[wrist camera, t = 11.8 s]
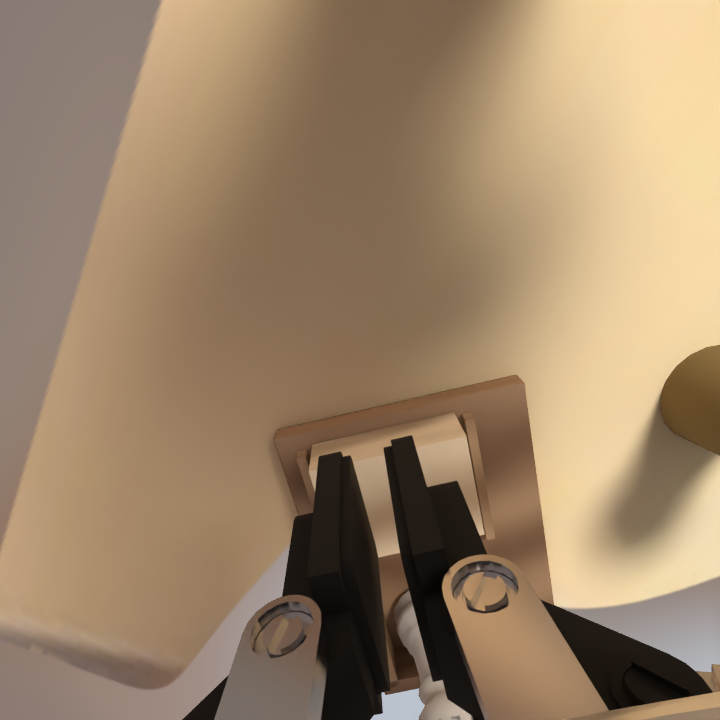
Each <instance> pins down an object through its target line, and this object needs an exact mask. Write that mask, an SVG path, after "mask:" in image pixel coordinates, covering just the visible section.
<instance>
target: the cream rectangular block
mask: <svg viewBox="0 0 720 720" xmlns="http://www.w3.org/2000/svg"><path fill="white" fill-rule="evenodd" d="M410 435H412V436H413V440H414V443H415V447H416V450H417V454H418V457H419V461H420V464H421V468H422V471H423V474H424V478H425V481H426V485H427V487H430V486H434V485H439V484H443V483H448V482H452V481H458V483H459V486H460V488H461V491H462V493H463V495H464V498H465V500H466V503H467V505H468V508H469V510H470V513H471V515H472V518H473V520H474V523H475V525H476V528H477V530H478V533H479V535H485V534H484V529H483V524H482V518H481V513H480V507H479V502H478V496H477V491H476V486H475V480H474V475H473V469H472V464H471V458H470V453H469V448H468V442H467V437H466V434H465V433H464V431H463V429H462V427H461V425H460V423H459V421H458V419H457V417H456V415H455V413H454V412H453V413H448V414H444V415H439V416H435V417H431V418H426V419H422V420H418V421H413V422H409V423H404V424H400V425H396V426H391V427H387V428H383V429H378V430H374V431H369V432H365V433H361V434H356V435H352V436H348V437H343V438H339V439H334V440H330V441H326V442H321V443H317V444H312V450H311V458H310V465H309V475H310V478H311V481H312V484H313V487H314V491H315V488H316V477H317V467H318V458H319V456H322V455H326V454H331V453H335V452H339V451H341V452H342V455H343V457H344V456H348V455H351V458H352V461H353V464H354V468H355V472H356V475H357V479H358V482H359V486H360V490H361V493H362V497H363V500H364V504H365V508H366V511H367V515H368V519H369V522H370V526H371V529H372V533H373V537H374V540H375V544H376V548H377V554H378V557H383V556H388V555H392V554H397V553H400V549H399V544H398V537H397V531H396V525H395V518H394V512H393V506H392V500H391V493H390V487H389V481H388V474H387V468H386V462H385V456H384V449H383V448H384V447H388V446H392V445H391V440H392V439H397V438H401V437H405V436H410Z"/></svg>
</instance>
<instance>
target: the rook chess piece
mask: <svg viewBox="0 0 720 720" xmlns="http://www.w3.org/2000/svg"><path fill="white" fill-rule="evenodd" d="M394 620H395V622H396V624H397V633H398V635H399V637H400V639H401V641H402V643H403V645H404V646H405V647H407V649H408V651H409V653H410V654H411V655H412V656H413V657H414V660H415V663H416V667H417V670H418V673H419V676H420V682H421V686H420V687H419V697H420V699H421V701H422V703H424V704H425V707H424V709H423V711H422V713H421V714H420V716H419V720H472V719H471V715H470V714H469V713H467V712H466V711H464V710H463V709H461V708H460V707H458V706H457V705H455V704H454V703H452V702H451V701H449V700H448V699H447V696H446V692H445V688H444V684H443V680H441V681H436V682H433V681H432V677H431V673H430V669H429V665H428V661H427V658H426V654H425V650H424V646H423V642H422V638H421V634H420V631H419V627H418V623H417V619H416V615H415V611H414V607H413V603H412V600H411V596H410V592H409V590H408V591H407V592H406V593H404V594H403V595H402V597H401V598H400V599H399V601H398V603H397V605H396V606H395V608H394Z"/></svg>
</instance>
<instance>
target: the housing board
mask: <svg viewBox="0 0 720 720" xmlns="http://www.w3.org/2000/svg"><path fill="white" fill-rule="evenodd" d="M453 412H454V413H455V415H456V417H457V419H458V421H459V423H460V425H461V427H462V429H463V431H464V433H465V434H466V437H467V442H468V448H469V453H470V458H471V464H472V469H473V475H474V480H475V486H476V491H477V496H478V502H479V507H480V513H481V518H482V524H483V529H484V534H485V535H480V538H481V540H482V543H483V545H484V547H485V550H486V552H487V555H495V556H499V557H502V558H505V559H507V560H509V561H511V562H512V563H514V564H515V565H517V566H518V567H519V569H520V570H521V571H522V572H523V573H524V574H525V576H526V578H527V579H528V581H529V582H530V584H531V586H532V587H533V589H534V591H535V592H536V594H537V595H538V597H539V599H540V600H543V601H545V602H547V603H550V604H552V605H554V602H553V594H552V587H551V579H550V572H549V565H548V557H547V550H546V542H545V535H544V527H543V520H542V513H541V505H540V498H539V490H538V483H537V476H536V468H535V461H534V453H533V446H532V438H531V431H530V424H529V416H528V409H527V401H526V394H525V386H524V382H523V381H522V380H521V379H520V378H519V377H518V376H517V375H513V376H509V377H504V378H500V379H496V380H491V381H487V382H483V383H478V384H474V385H470V386H465V387H461V388H457V389H452V390H448V391H444V392H439V393H435V394H431V395H426V396H422V397H418V398H413V399H409V400H405V401H400V402H396V403H392V404H387V405H383V406H379V407H374V408H370V409H366V410H361V411H357V412H353V413H348V414H344V415H340V416H335V417H331V418H327V419H322V420H318V421H314V422H309V423H305V424H300V425H296V426H292V427H287V428H283V429H279V430H276V434H275V437H274V442H275V445H276V448H277V451H278V454H279V457H280V461H281V464H282V467H283V470H284V473H285V476H286V479H287V482H288V485H289V488H290V491H291V494H292V497H293V500H294V503H295V506H296V509H297V512H298V515H304V514H308V513H313V508H314V498H315V491H314V487H313V484H312V481H311V478H310V475H309V465H310V458H311V450H312V444H317V443H321V442H326V441H330V440H334V439H339V438H343V437H348V436H352V435H356V434H361V433H365V432H369V431H374V430H378V429H383V428H387V427H391V426H396V425H400V424H404V423H409V422H413V421H418V420H422V419H426V418H431V417H435V416H439V415H444V414H448V413H453ZM378 562H379V572H380V582H381V593H382V603H383V614H384V624H385V634H386V645H387V655H388V666H389V676H390V691H387V692H385V695H388V694H393V693H397V692H403V691H407V690H412V689H417V688H419V687H420V686H421V682H420V676H419V673H418V670H417V667H416V663H415V660H414V657H413V656H412V655H411V654H410V653H409V651H408V649H407V647H405V646H404V645H403V643H402V641H401V639H400V637H399V635H398V633H397V624H396V622H395V620H394V608H395V606H396V605H397V603H398V601H399V599H400V598H401V597H402V595H403V594H404V593H406V592H407V591H408V590H409V588H408V584H407V580H406V576H405V572H404V568H403V564H402V559H401V555H400V553H397V554H392V555H388V556H383V557H378Z"/></svg>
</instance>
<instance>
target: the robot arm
mask: <svg viewBox="0 0 720 720" xmlns="http://www.w3.org/2000/svg"><path fill="white" fill-rule="evenodd" d="M391 445H392V446H388V447H384V448H383V449H384V456H385V462H386V468H387V474H388V481H389V487H390V493H391V500H392V506H393V512H394V518H395V525H396V531H397V537H398V544H399V549H400V555H401V559H402V564H403V568H404V572H405V576H406V580H407V584H408V588H409V592H410V596H411V600H412V603H413V607H414V611H415V615H416V619H417V623H418V627H419V631H420V634H421V638H422V642H423V646H424V650H425V654H426V658H427V661H428V665H429V669H430V673H431V677H432V681H433V682H436V681H441V680H443V684H444V688H445V692H446V696H447V699H448V700H449V701H451V702H452V703H454V704H455V705H457V706H458V707H460V708H461V709H463V710H464V711H466V712H467V713H469V714H470V715H471V719H472V720H720V665H715V664H712V672H699V671H694V670H693V669H692V668H691V667H689V666H688V665H687V664H686V663H684V662H682V661H680V660H679V659H677V658H675V657H673V656H671V655H670V654H667V653H665V652H663V651H660V650H658V649H656V648H653V647H651V646H649V645H646V644H644V643H641V642H639V641H637V640H634V639H632V638H630V637H627V636H625V635H623V634H620V633H618V632H616V631H613V630H611V629H609V628H606V627H604V626H601V625H599V624H597V623H594V622H592V621H590V620H587V619H585V618H583V617H580V616H578V615H576V614H573V613H571V612H569V611H566V610H564V609H562V608H559V607H557V606H555V605H552V604H550V603H547V602H545V601H543V600H540V599H539V597H538V595H537V594H536V592H535V591H534V589H533V587H532V586H531V584H530V582H529V581H528V579H527V578H526V576H525V574H524V573H523V572H522V571H521V570H520V569H519V567H518V566H517V565H515V564H514V563H512V562H511V561H509V560H507V559H505V558H502V557H499V556H495V555H487V552H486V550H485V547H484V545H483V543H482V540H481V538H480V535H479V533H478V530H477V528H476V525H475V523H474V520H473V518H472V515H471V513H470V510H469V508H468V505H467V503H466V500H465V498H464V495H463V493H462V491H461V488H460V486H459V483H458V481H452V482H448V483H443V484H439V485H434V486H430V487H427V485H426V481H425V478H424V474H423V471H422V468H421V464H420V461H419V457H418V454H417V450H416V447H415V443H414V440H413V436H412V435H410V436H405V437H401V438H397V439H392V440H391ZM387 691H390V676H389V666H388V655H387V645H386V634H385V624H384V614H383V603H382V593H381V582H380V572H379V562H378V554H377V548H376V544H375V540H374V537H373V533H372V529H371V526H370V522H369V519H368V515H367V511H366V508H365V504H364V500H363V497H362V493H361V490H360V486H359V482H358V479H357V475H356V472H355V468H354V464H353V461H352V458H351V455H348V456H344V457H343V455H342V452H341V451H339V452H335V453H331V454H326V455H322V456H319V458H318V467H317V477H316V488H315V498H314V508H313V513H308V514H304V515H299V516H296V517H295V519H294V524H293V530H292V537H291V543H290V550H289V557H288V563H287V570H286V576H285V582H284V589H283V596H282V597H280V598H277V599H276V600H273V601H271V602H269V603H268V604H266V605H265V606H264V607H262V608H261V609H260V610H258V611H257V612H256V613H255V614H254V616H253V617H252V618H251V619H250V620H249V622H248V623H247V625H246V627H245V630H244V632H243V634H242V637H241V640H240V643H239V646H238V649H237V652H236V655H235V658H234V661H233V664H232V667H231V670H230V673H229V675H228V676H227V677H226V678H225V679H224V680H223V681H222V682H221V683H220V684H219V685H218V686H217V687H216V688H215V689H214V690H213V691H212V692H211V693H210V694H209V695H208V696H207V697H205V699H204V700H202V701H201V702H200V703H199V704H198V705H197V706H196V707H195V708H194V709H193V710H192V711H191V712H190V713H189V714H188V715H187V716H186V717H185V718H184V719H183V720H370V719H371V718H372V717H373V715H376V714H381V713H383V711H382V697H381V693H382V692H387Z"/></svg>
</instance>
